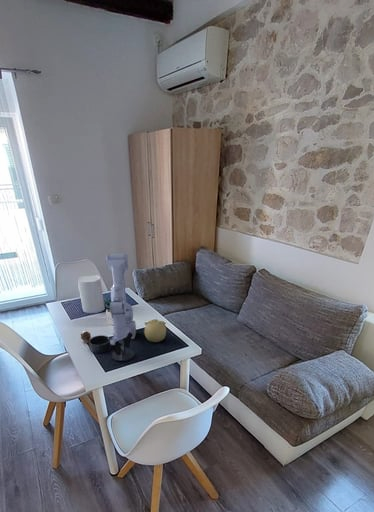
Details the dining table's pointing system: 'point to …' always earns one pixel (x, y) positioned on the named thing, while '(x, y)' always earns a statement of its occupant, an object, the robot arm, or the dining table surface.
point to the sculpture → (155, 330)
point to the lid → (123, 354)
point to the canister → (91, 293)
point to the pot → (100, 344)
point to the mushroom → (85, 336)
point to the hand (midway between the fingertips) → (122, 350)
